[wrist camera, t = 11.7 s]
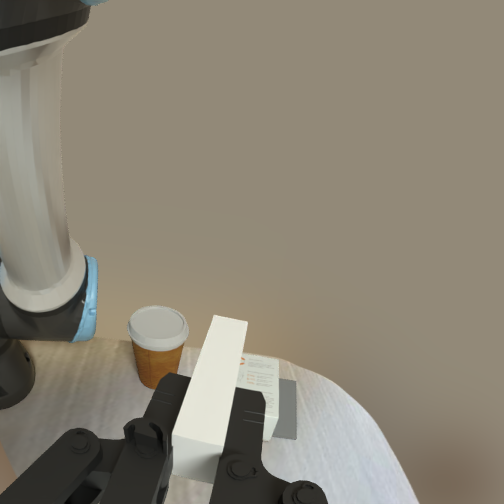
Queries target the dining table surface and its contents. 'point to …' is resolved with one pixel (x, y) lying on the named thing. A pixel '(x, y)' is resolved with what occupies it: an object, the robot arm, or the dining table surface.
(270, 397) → the small box
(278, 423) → the rubber mat
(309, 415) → the dining table surface
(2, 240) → the robot arm
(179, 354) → the disposable coffee cup
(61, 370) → the dining table surface
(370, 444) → the dining table surface
